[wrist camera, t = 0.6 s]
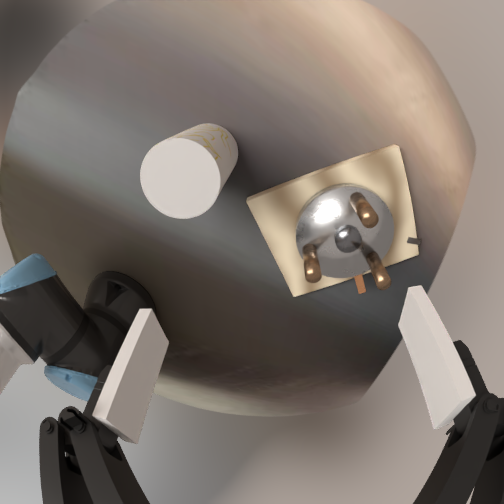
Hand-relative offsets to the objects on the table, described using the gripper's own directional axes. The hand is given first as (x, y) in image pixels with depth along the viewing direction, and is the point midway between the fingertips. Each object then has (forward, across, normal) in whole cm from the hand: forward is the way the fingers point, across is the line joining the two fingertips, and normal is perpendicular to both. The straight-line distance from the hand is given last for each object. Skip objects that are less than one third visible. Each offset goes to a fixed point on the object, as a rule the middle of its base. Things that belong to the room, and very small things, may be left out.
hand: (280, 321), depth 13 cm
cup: (+27, -8, +4) cm, 28 cm away
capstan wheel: (+24, +9, -11) cm, 28 cm away
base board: (+26, +9, -8) cm, 29 cm away
